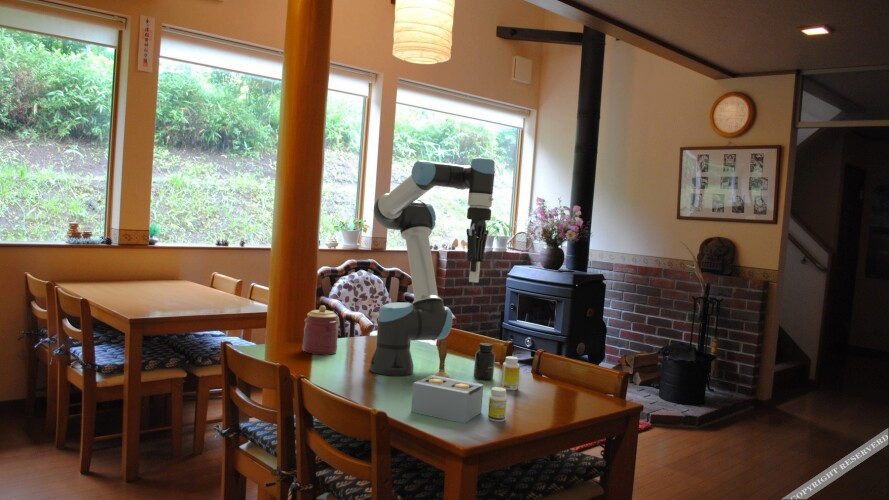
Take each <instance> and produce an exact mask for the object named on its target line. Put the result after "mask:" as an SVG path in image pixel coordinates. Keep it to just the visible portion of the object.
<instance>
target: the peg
mask: <svg viewBox="0 0 889 500" xmlns="http://www.w3.org/2000/svg"><path fill="white" fill-rule="evenodd" d="M429 382H430V383H435V384H442V383H443V380H440V379H429Z"/></svg>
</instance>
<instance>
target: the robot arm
mask: <svg viewBox="0 0 889 500" xmlns="http://www.w3.org/2000/svg"><path fill="white" fill-rule="evenodd" d="M495 165H496V163H495V160H494V159H493V158H492V159H491V158H487V157H486V158H485V157H474V158H472V159H471V162H470V165H462V164H454V163H446V162H445V163H444V162H440V161H439V162H437V161H431V160H417V161H415V163H414V164H413V166H412V168H411V175H409V176H408V177H407V178H406V179H405V180H403V181H402V182H401V183H400V184H399V185H398V186H396V187H395V188H394V189H392V191H391V190H390V192H388V193H384V194H381V196H380V197H379V198H378V199H377V200H376V201H375V203H374V206H373V214H374V215H373V216H374V218H375V220H376V221H377V223H378V224H379V225H381V226H382V227H384V228H385V229H389V230H394V231H395V230H396V231H400V237H401V239H403V240H405V243H406V244H405V245H406V250H407V256H408V257H407V258H408V264H409V265H408V266H409V271H410V278H411V284H412V290H413V291H412V293H413V298H414V300H413V302H405V301H404V302H389V303H385V304H383V305H381V306H380V307H379V310H378V316H377V332H376V334H377V335H376V345H375V346H376V347H375V350H374V352H373V355H372V357H371V360H370V363H369V371H370V372H372V373H375V374H378V375H384V376H392V377H393V376H394V377H395V376H396V377H397V376H398V377H401V376H409V375H412V374H413V373H414V361H413V356H412V353H411V352H412V351H411V341H436V340H438V341H439V340H444V339H446V338H447V337H448V336H449V334H450V332H451V331H452V330H451V329H452V326H453V313H452V310H451V309H450V307H447V306H445V305H444V299H442V298H441V297H440V296H439V293H438V287H437V282H436V275H435V274H436V273H435V269H434V263H433V257H432V249H431V245H430V238H429V237H430V236H431V235H432V233H433V232H432V231H433V230H434V229H435V226H436V221H437V220H436V219H437V216H436V211H435V209H434V207H433V205H432V204H431V203H429V202H428V201H425V200H420V199H419V198H420V197H422V196H423V195H424V194H426V193H428V192H429V191H430V190H431V189H433V188H434V187H441V188H442V187H443V188H444V187H445V188H453V189H456V190H468V199H467V206H469V207H468V208H467V211H466V212H467V213H466V218H467V219H468V220H471V221H470V225H469V228H466V235H467V238H466V239H467V240H466V241H467V243H466V244H467V262H468V261H469V262H470V265H469V277H468V278H469V279H468V282H469V283H476V284H477V283H479V281H480V269H481V262H482V263H483V262H484V256H485V251H486V245H487V239H488V236H489V230H488V229H487V224H486V222H489V221H491V219H492V210H491V207H493V206H492V203H493V201H494V197H493V194H494V183H495V174H496V172H495V171H496V170H495V169H496V168H495Z"/></svg>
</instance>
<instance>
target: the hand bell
mask: <svg viewBox="0 0 889 500" xmlns="http://www.w3.org/2000/svg"><path fill="white" fill-rule="evenodd" d="M446 342H447V341H446V340H444V339H441V341H440V344H439V347H438V358H439V366H438V367H439V368H438V372H436V373H434V375H435V376H440V377H446V378H450V377H449V374H448V373H447V372H445V371H446V370H445V368H446V367H445V366H446V365H445V363H446V358H447V353H448V347H447V343H446Z"/></svg>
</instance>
